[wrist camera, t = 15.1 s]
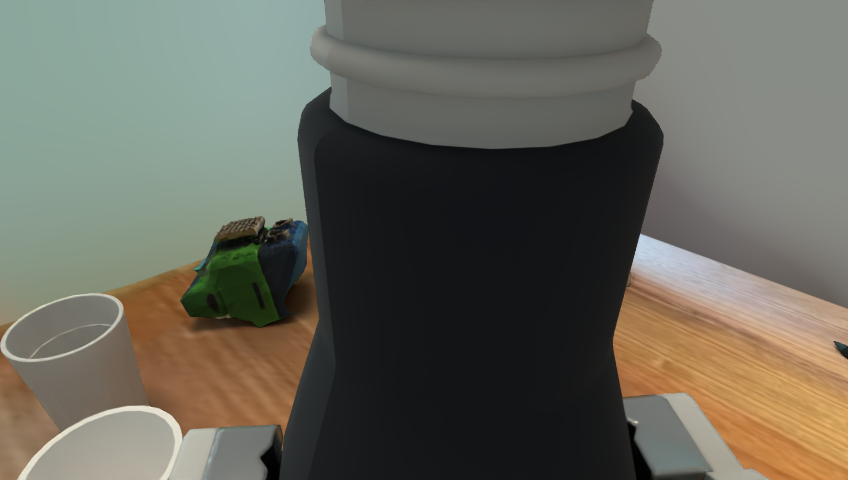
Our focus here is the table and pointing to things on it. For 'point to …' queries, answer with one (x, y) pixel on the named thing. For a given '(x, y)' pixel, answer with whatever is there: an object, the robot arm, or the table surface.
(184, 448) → the robot arm
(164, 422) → the mug
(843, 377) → the table surface
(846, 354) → the pen
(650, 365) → the table surface
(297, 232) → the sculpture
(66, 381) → the cup
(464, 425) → the wine bottle
